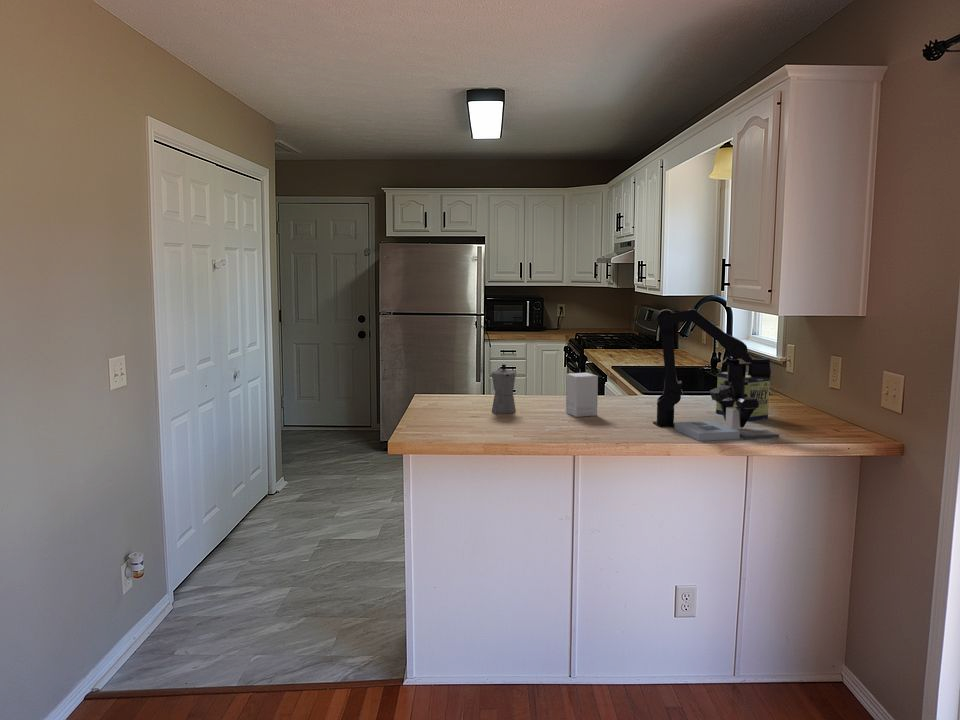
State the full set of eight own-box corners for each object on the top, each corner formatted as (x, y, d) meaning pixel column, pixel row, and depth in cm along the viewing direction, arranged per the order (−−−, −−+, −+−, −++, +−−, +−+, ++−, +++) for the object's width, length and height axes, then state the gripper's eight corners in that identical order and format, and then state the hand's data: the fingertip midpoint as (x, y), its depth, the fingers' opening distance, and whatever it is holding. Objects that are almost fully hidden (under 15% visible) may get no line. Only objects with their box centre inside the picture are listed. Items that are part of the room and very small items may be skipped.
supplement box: (598, 415, 252) (598, 375, 251) (575, 417, 250) (576, 376, 248) (586, 411, 261) (587, 372, 259) (565, 412, 258) (565, 373, 256)
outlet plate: (674, 429, 230) (674, 422, 230) (712, 427, 233) (713, 420, 233) (698, 441, 215) (699, 433, 215) (739, 438, 218) (739, 430, 217)
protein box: (747, 421, 242) (749, 377, 240) (715, 413, 256) (716, 372, 254) (769, 418, 247) (771, 375, 245) (736, 410, 261) (737, 370, 259)
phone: (733, 434, 223) (733, 431, 223) (766, 432, 225) (766, 429, 225) (744, 439, 217) (744, 436, 216) (778, 437, 219) (779, 434, 219)
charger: (725, 427, 233) (726, 407, 232) (736, 427, 234) (737, 406, 233) (731, 430, 229) (732, 409, 228) (742, 429, 230) (743, 409, 229)
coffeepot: (520, 414, 255) (520, 366, 253) (495, 415, 253) (495, 367, 251) (510, 406, 270) (510, 361, 268) (486, 407, 268) (486, 361, 266)
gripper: (699, 374, 237) (698, 419, 239) (729, 383, 219) (727, 431, 221) (729, 373, 239) (727, 418, 241) (761, 382, 221) (758, 430, 223)
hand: (734, 424), depth 231 cm, fingers open, 9 cm apart
